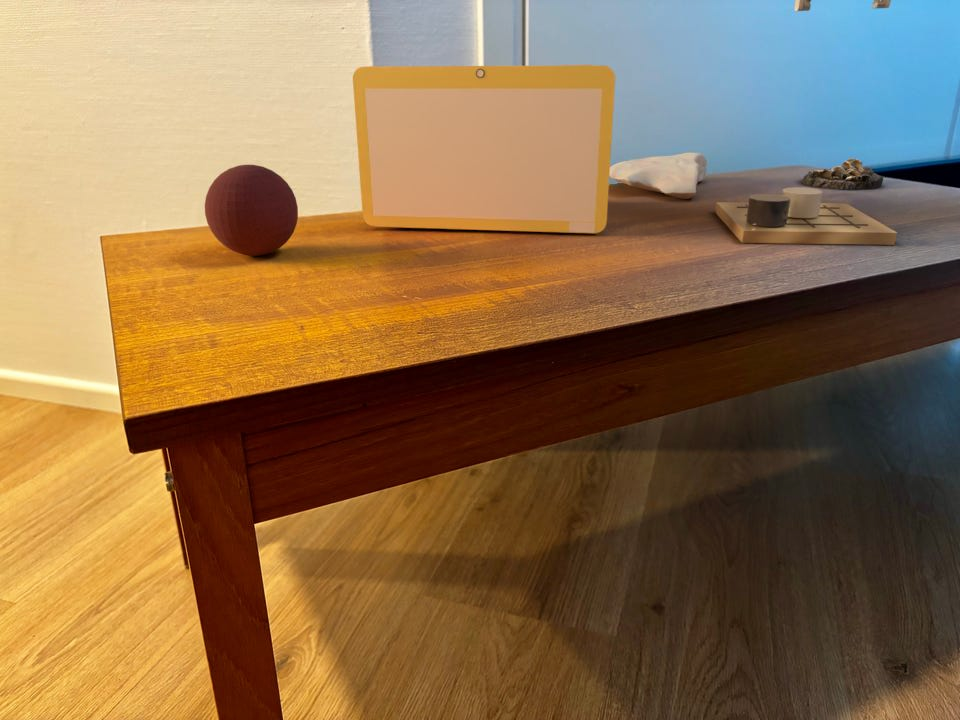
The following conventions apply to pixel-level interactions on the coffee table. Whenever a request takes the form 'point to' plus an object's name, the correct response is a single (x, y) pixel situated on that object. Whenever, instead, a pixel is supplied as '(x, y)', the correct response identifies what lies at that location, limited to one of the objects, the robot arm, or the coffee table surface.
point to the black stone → (768, 210)
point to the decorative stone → (663, 173)
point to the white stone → (803, 202)
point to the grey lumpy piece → (844, 177)
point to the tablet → (485, 146)
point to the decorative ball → (251, 210)
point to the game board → (809, 227)
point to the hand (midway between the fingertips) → (841, 9)
